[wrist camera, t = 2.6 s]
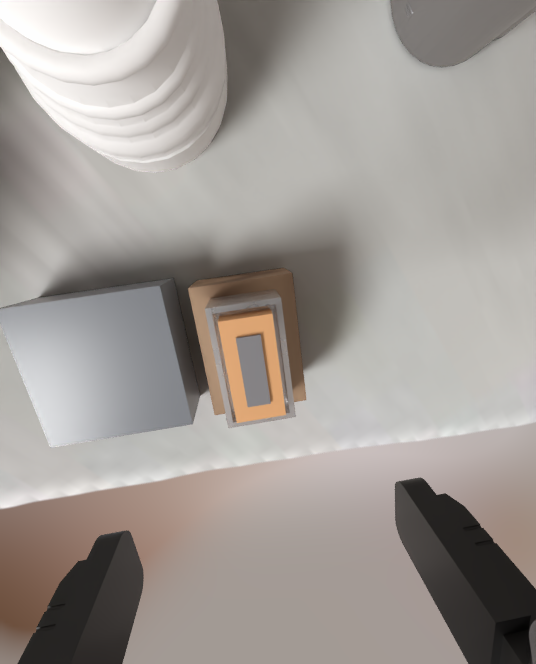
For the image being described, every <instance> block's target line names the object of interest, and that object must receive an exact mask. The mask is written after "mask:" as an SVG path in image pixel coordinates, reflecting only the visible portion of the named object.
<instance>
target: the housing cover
mask: <svg viewBox="0 0 536 664" xmlns="http://www.w3.org/2000/svg"><path fill="white" fill-rule="evenodd" d="M218 327H219V332H220V337H221V342H222V348H223V353H224V358H225V363H226V369H227V374H228V379H229V385H230V390H231V395H232V400H233V406H234V411H235V416H236V421H237V423H241V422H247V421H253V420H259V419H265V418H271V417H277V416H283V415H286V411H285V403H284V396H283V388H282V381H281V373H280V366H279V358H278V351H277V343H276V336H275V329H274V321H273V314H272V311H271V309H263V310H257V311H250V312H243V313H237V314H230V315H224V316H219V319H218Z"/></svg>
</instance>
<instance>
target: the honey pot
mask: <svg viewBox="0 0 536 664" xmlns="http://www.w3.org/2000/svg"><path fill="white" fill-rule="evenodd" d="M0 47H1V48H2V49H3V51H4V53H5V54H6V56H7V58H8V59H9V60H10V62H11V63H12V64H13V65H14V67H15V69H16V71H17V72H18V74H19V75H20V77H21V79H22V80H23V82H24V84H25V85H26V87H27V89H28V90H29V92H30V93H31V95H32V97H33V98H34V99H35V101H36V102H37V103H38V104H39V105H40V106H41V107H42V108H43V109H44V110H45V111H46V113H47V114H48V115H49V116H50V117H51V118H52V119H53V120H54V121H55V122H56V123H57V124H58V125H59V126H60V127H61V128H62V129H63V130H65V131H66V132H68V133H69V134H71V135H72V136H74V137H75V138H77V139H78V140H80V141H81V142H83V143H84V144H85V145H87V146H89V147H90V148H92V149H94V150H95V151H97V152H98V153H100V154H101V155H103V156H104V157H106V158H108V159H109V160H111V161H112V162H114V163H116V164H119V165H121V166H124V167H127V168H130V169H132V170H135V171H143V172H154V173H158V172H163V171H168V170H174V169H178V168H179V167H181V166H183V165H185V164H187V163H189V162H191V161H193V160H195V159H196V158H197V157H198V156H199V155H200V154H201V153H202V152H203V151H204V150H205V149H206V148H207V147H208V146H209V145H210V143H211V142H212V140H213V138H214V136H215V135H216V133H217V131H218V129H219V127H220V126H221V122H222V119H223V115H224V111H225V107H226V104H227V80H228V76H227V63H226V51H225V37H224V31H223V26H222V21H221V16H220V10H219V5H218V2H217V0H0Z"/></svg>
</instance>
